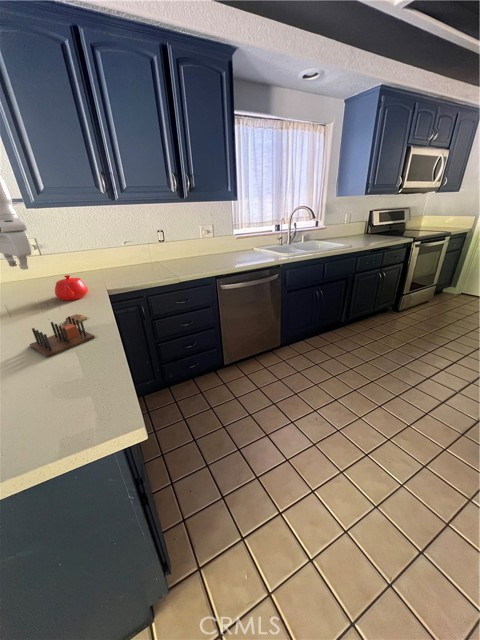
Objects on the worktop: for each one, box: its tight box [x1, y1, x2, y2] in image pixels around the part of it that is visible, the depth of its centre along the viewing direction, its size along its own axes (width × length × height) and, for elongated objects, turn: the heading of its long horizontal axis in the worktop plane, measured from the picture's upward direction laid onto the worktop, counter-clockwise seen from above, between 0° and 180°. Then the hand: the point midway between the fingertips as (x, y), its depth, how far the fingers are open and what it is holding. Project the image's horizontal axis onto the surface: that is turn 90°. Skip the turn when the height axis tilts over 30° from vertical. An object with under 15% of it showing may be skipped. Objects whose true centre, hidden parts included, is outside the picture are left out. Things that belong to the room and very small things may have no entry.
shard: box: [64, 313, 88, 326], centre depth 113 cm, size 11×8×2 cm
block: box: [61, 324, 79, 339], centre depth 99 cm, size 4×4×4 cm
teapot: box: [54, 274, 89, 301], centre depth 142 cm, size 25×16×12 cm, turn 26°
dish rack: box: [29, 315, 95, 358], centre depth 96 cm, size 16×14×7 cm
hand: (19, 267), depth 90 cm, fingers open, 8 cm apart
